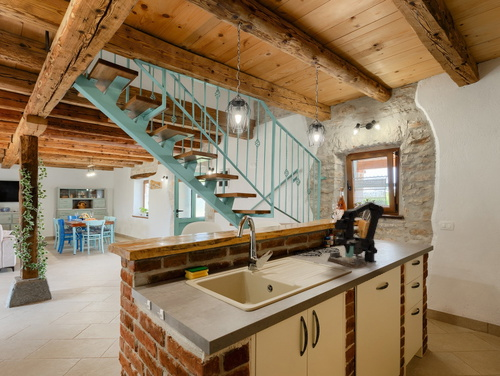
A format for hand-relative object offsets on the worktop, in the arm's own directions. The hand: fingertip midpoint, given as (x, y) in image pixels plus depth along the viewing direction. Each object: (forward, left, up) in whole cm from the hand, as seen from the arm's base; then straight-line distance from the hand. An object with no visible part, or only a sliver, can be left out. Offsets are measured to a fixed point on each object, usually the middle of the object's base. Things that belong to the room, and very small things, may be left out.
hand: (349, 253), depth 186 cm
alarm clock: (-24, -14, -7) cm, 29 cm away
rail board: (0, -2, -7) cm, 7 cm away
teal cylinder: (0, 0, -5) cm, 5 cm away
